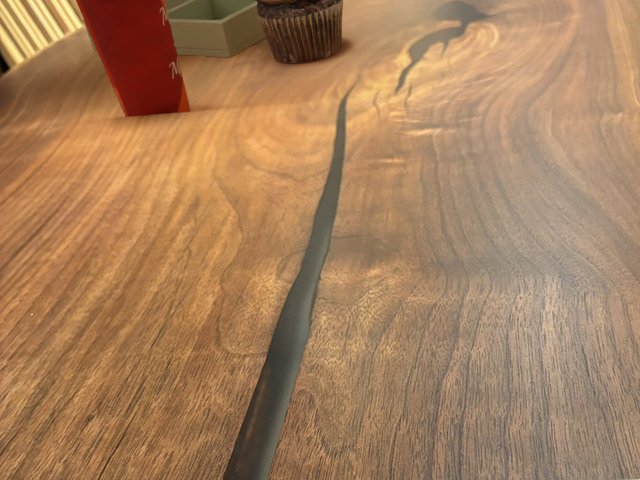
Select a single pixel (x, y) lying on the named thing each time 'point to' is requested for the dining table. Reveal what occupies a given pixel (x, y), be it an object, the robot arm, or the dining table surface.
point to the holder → (212, 26)
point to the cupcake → (301, 28)
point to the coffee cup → (137, 54)
